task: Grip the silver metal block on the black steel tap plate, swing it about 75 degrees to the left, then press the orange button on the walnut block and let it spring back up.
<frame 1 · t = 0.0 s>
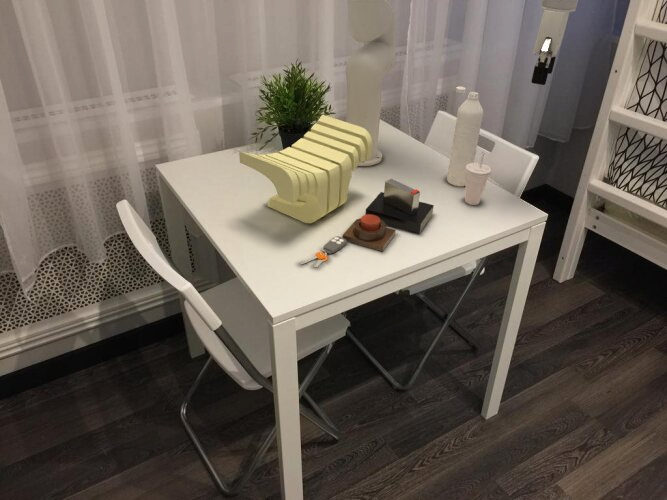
hand: (541, 78, 140), 31 cm above the table, tool pointing down, fingers open, 9 cm apart
button: (370, 222, 135), point 4 cm above the table, slide at 0.1 cm
silver metal block: (401, 196, 142), point 6 cm above the table, hinge at -20.0°
button block: (368, 237, 137), on the table
slatted curved stool: (308, 207, 148), on the table
tap plate: (398, 217, 145), on the table
water bottle: (455, 180, 163), on the table
key chain: (324, 255, 131), on the table
smoothie: (471, 202, 153), on the table
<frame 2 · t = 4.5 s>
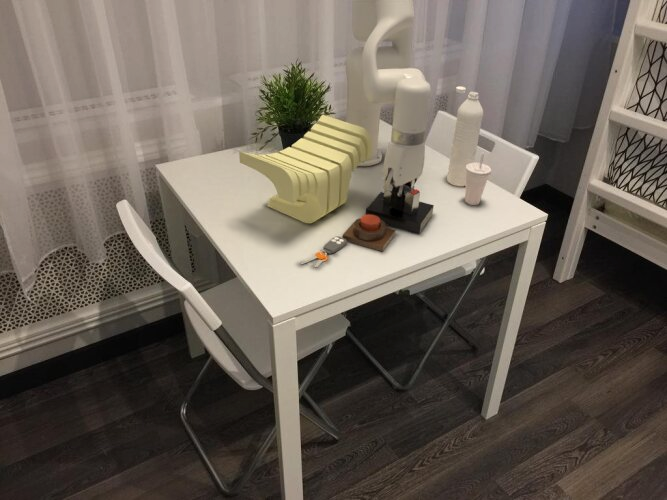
hand: (400, 205, 143), 3 cm above the table, tool pointing down, fingers closed on silver metal block, 2 cm apart
silver metal block: (401, 196, 142), point 6 cm above the table, hinge at -20.0°, touching gripper
everything else where it was.
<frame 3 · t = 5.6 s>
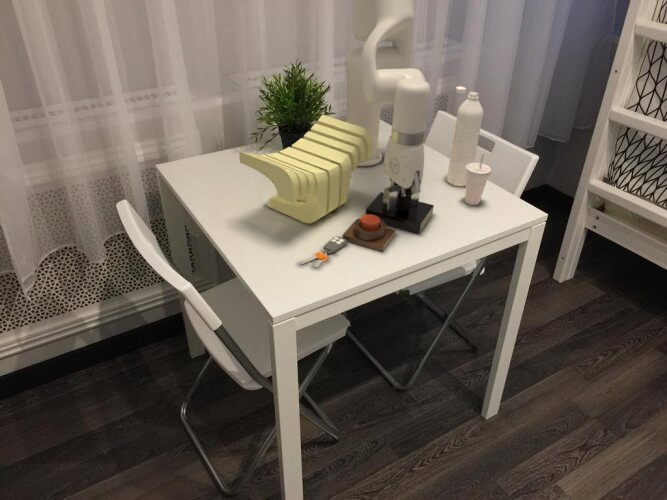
hand: (400, 205, 143), 3 cm above the table, tool pointing down, fingers closed on silver metal block, 2 cm apart
silver metal block: (401, 196, 142), point 6 cm above the table, hinge at 54.4°, touching gripper
everything else where it was.
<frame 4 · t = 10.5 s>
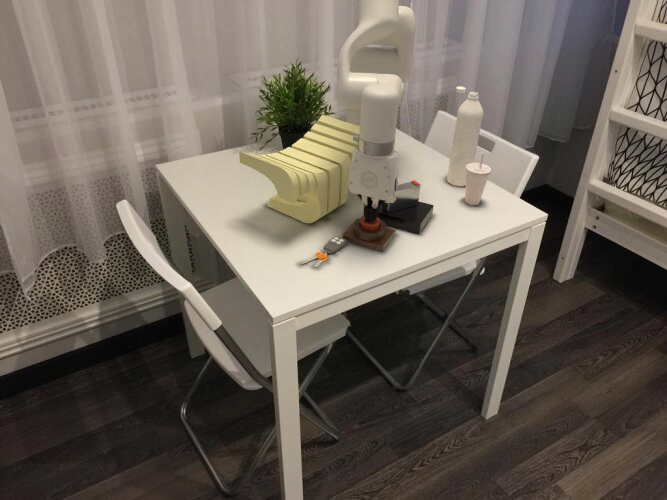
hand: (370, 219, 134), 5 cm above the table, tool pointing down, fingers closed
button: (370, 223, 135), point 4 cm above the table, slide at 0.0 cm, touching gripper
silver metal block: (401, 196, 142), point 6 cm above the table, hinge at 54.4°
everything else where it was.
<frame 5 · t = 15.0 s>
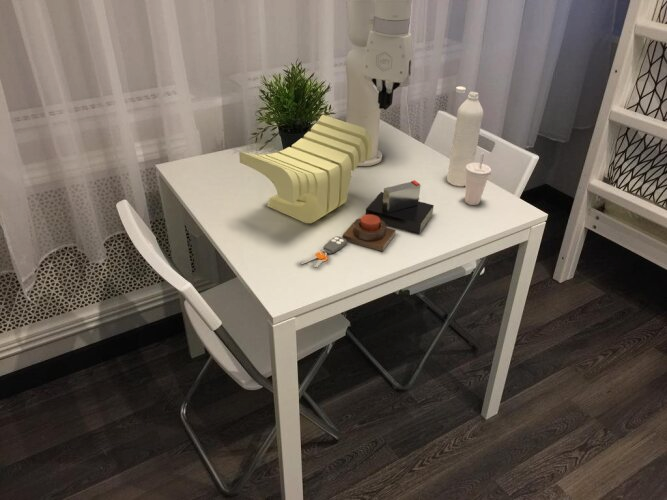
hand: (384, 107, 137), 25 cm above the table, tool pointing down, fingers closed
button: (370, 222, 135), point 4 cm above the table, slide at 0.1 cm
everything else where it was.
at the end: silver metal block at +54° (first picture: -20°); button pushed in 1.1 cm at the most during the clip, back to where it started at the end; button slide at 0.1 cm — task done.
